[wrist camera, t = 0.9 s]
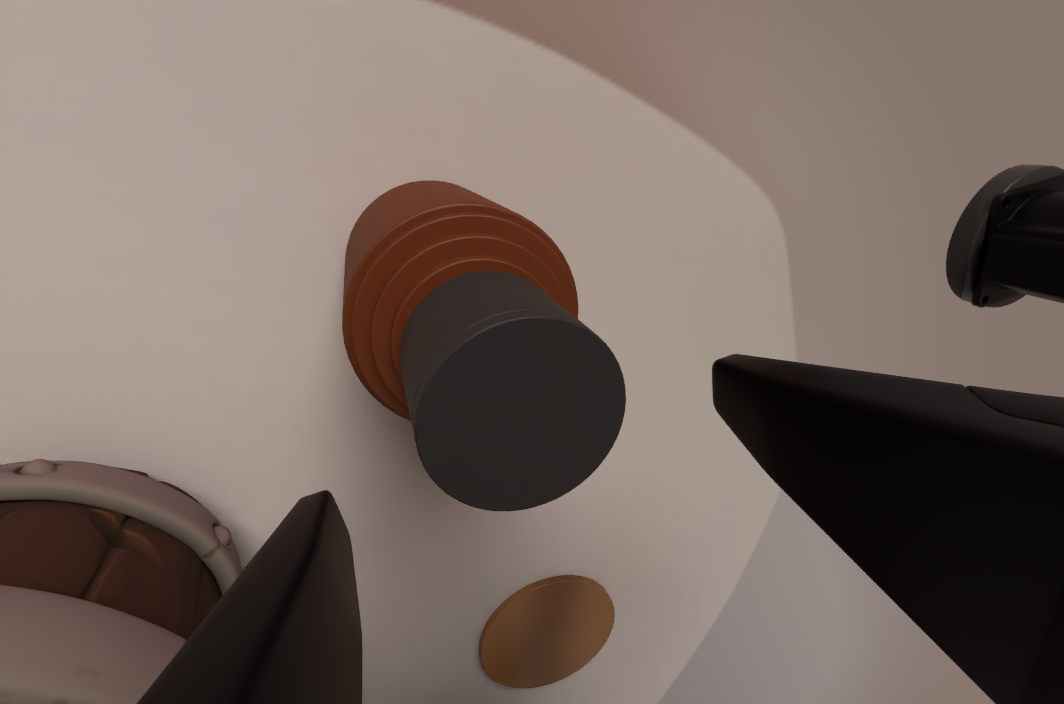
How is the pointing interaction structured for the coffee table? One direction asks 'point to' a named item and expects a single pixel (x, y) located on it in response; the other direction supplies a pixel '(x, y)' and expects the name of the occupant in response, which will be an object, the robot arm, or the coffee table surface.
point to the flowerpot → (100, 580)
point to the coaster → (546, 631)
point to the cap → (507, 392)
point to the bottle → (431, 269)
